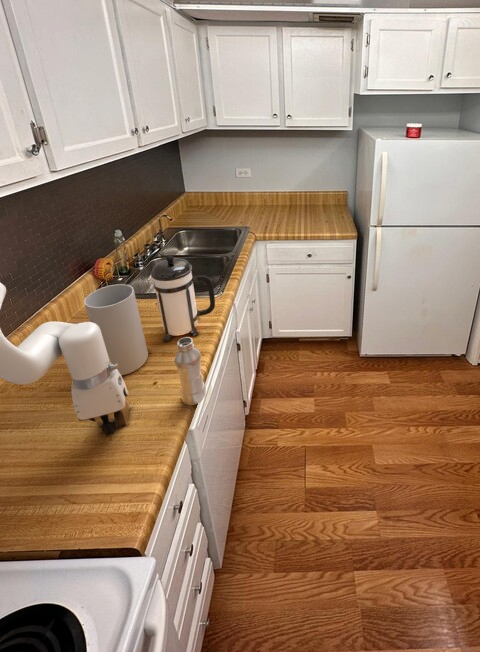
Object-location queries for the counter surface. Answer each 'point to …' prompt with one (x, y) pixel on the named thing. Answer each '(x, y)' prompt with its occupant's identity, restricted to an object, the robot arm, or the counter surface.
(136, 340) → the cylinder vase
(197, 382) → the plastic bottle
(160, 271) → the coffee press
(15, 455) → the counter surface
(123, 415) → the walnut block
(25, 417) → the counter surface
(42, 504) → the counter surface
